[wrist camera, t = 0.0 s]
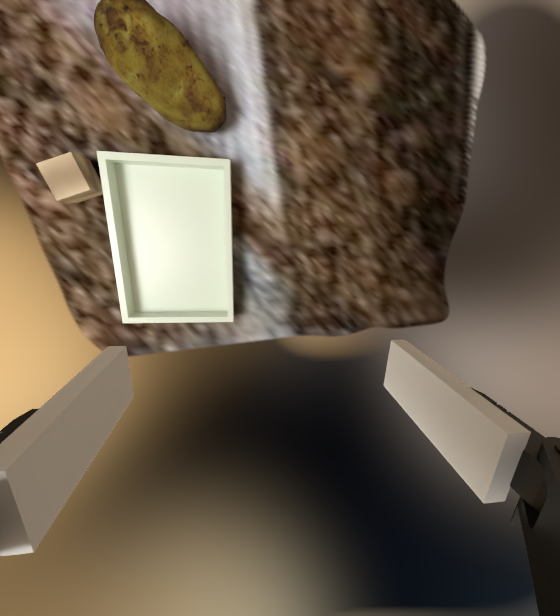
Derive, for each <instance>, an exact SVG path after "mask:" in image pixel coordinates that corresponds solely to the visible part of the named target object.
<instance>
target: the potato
mask: <svg viewBox="0 0 560 616" xmlns="http://www.w3.org/2000/svg"><path fill="white" fill-rule="evenodd" d="M94 26H95V31H96V34H97V37H98V40H99V43H100V47H101V49H102V50H103V52H104V54H105V56H106V58H107V60H108V62H109V64H110V65H111V67H112V68H113V69H114V71H115V72H116V73H117V74H118V76H119V77H120V78H121V79H122V80H123V81H124V82H125V83H126V84H127V85H128V86H129V87H130V88H131V89H132V90H133V91H134V92H135V93H136V94H137V95H138V96H139V97H140V98H142V99H143V100H144V101H145V102H147V103H148V104H149V105H150V106H151V107H153V108H154V109H155V110H156V111H157V112H158V113H159V114H160V115H162V116H163V117H164V118H166V119H167V120H169V121H170V122H172V123H174V124H175V125H177V126H179V127H181V128H183V129H186V130H190V131H199V132H214V131H217V130H218V129H219V128H220V127H221V126H222V125H223V124H224V123H225V120H226V103H225V97H223V95H222V93H221V91H220V89H219V88H218V86H217V84H216V83H215V81H214V80H213V78H212V77H211V75H210V74H209V72H208V71H207V69H206V68H205V66H204V65H203V63H202V62H201V60H200V59H199V57H198V56H197V55H196V53H195V52H194V50H193V49H192V47H191V46H190V45H189V43H188V40H186V39H185V38H184V36H183V35H182V33H181V32H180V31H179V30H178V29H177V28H176V27H175V26H174V25H173V24H172V23H171V22H170V21H169V20H167V19H166V18H164V17H163V16H161V15H160V14H159V13H157V12H156V10H155V9H154V8H153V7H152V6H151V5H150V4H149V3H148V2H147V1H146V0H101V1H100V2H99V3H98V5H97V7H96V9H95V13H94Z"/></svg>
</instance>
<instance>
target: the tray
mask: <svg viewBox="0 0 560 616" xmlns="http://www.w3.org/2000/svg"><path fill="white" fill-rule="evenodd" d="M97 157H98V164H99V170H100V177H101V183H102V190H103V196H104V203H105V210H106V216H107V223H108V229H109V236H110V242H111V249H112V256H113V262H114V269H115V275H116V282H117V288H118V295H119V302H120V308H121V315H122V321H123V323H178V322H233V320H234V282H233V232H232V182H231V162H230V159H217V158H201V157H185V156H169V155H153V154H138V153H122V152H106V151H97Z"/></svg>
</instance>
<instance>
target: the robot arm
mask: <svg viewBox="0 0 560 616" xmlns="http://www.w3.org/2000/svg"><path fill="white" fill-rule="evenodd" d="M384 386H385V388H386V389H387V390H388V391H389V392H390V393H391V395H392V396H393V397H394V398H395V399H396V401H397V402H398V403H399V404H400V405H401V407H402V408H403V409H404V410H405V411H406V412H407V414H408V415H409V416H410V417H411V418H412V419H413V421H414V422H415V423H416V424H417V425H418V427H419V428H420V429H421V430H422V431H423V432H424V434H425V435H426V436H427V437H428V438H429V440H430V441H431V442H432V443H433V444H434V445H435V447H436V448H437V449H438V450H439V451H440V452H441V454H442V455H443V456H444V457H445V458H446V460H447V461H448V462H449V463H450V464H451V465H452V467H453V468H454V469H455V470H456V471H457V472H458V474H459V475H460V476H461V477H462V478H463V480H465V482H466V483H467V484H468V485H469V487H470V488H471V489H472V490H473V491H474V492H475V494H476V495H477V496H478V497H479V498H480V499H481V501H482V502H483V503H491V502H501V501H505V499H506V497H507V494H508V491H509V489H510V486H511V487H512V488H513V489H514V490H515V491H516V492H517V493H518V494H519V495H520V498H519V500H518V503H517V505H516V508H515V510H514V513H513V516H512V518H511V524H513V525H516V522H517V520H519V519H520V521H521V526H522V531H523V536H524V541H525V546H526V551H527V556H528V561H529V566H530V571H531V576H532V581H533V587H534V592H535V597H536V602H537V607H538V612H539V616H560V438H556V437H547V438H545V437H544V436H542V435H541V434H539V433H538V432H536V431H535V430H534V429H533V428H531V427H530V426H528V425H527V424H525V423H524V422H523V421H521V420H520V419H519V418H517V417H516V416H514V415H513V414H511V413H510V412H507V410H506V409H505V408H503V407H502V406H500V405H497V403H496V402H495V401H493V400H492V399H490V398H489V397H488V396H486V395H485V394H483V393H481V392H479V391H477V390H475V389H473V388H471V387H468V386H467V385H466V384H465V383H463V382H462V381H460V380H459V379H458V378H456V377H455V376H454V375H452V374H451V373H449V372H448V371H447V370H445V369H444V368H443V367H441V366H440V365H439V364H437V363H436V362H435V361H433V360H432V359H430V358H429V357H427V356H426V355H425V354H424V353H422V352H421V351H419V350H418V349H417V348H415V347H414V346H412V345H411V344H410V343H409V342H407V341H406V340H391V345H390V351H389V357H388V363H387V369H386V375H385V381H384ZM133 397H134V395H133V388H132V382H131V376H130V369H129V362H128V356H127V349H126V346H108V347H107V348H106V349H105V350H104V351H103V352H102V353H101V354H100V355H98V356H97V357H96V358H95V359H94V360H93V361H92V362H91V363H89V364H88V365H87V366H86V367H85V368H84V369H83V370H82V371H81V372H79V373H78V374H77V375H76V376H75V377H74V378H73V379H72V380H71V381H69V382H68V383H67V384H66V385H65V386H64V387H63V388H62V389H61V390H59V391H58V392H57V393H56V394H55V395H54V396H53V397H52V398H51V399H50V400H48V401H47V402H46V403H45V404H44V405H43V406H42V407H41V408H39V409H32V410H30V411H28V412H26V413H25V414H23V415H21V416H19V417H18V418H16V419H14V420H13V421H12V422H10V423H9V424H8V425H7V426H6V427H4V428H3V429H2V430H1V431H0V555H1V556H5V555H15V554H24V553H33V552H34V551H35V550H36V548H37V547H38V545H39V543H40V542H41V540H42V539H43V537H44V536H45V534H46V533H47V531H48V529H49V528H50V526H51V525H52V523H53V522H54V520H55V518H56V517H57V515H58V514H59V512H60V511H61V509H62V508H63V506H64V505H65V503H66V501H67V500H68V498H69V496H70V495H71V494H72V492H73V491H74V489H75V487H76V486H77V484H78V483H79V481H80V480H81V478H82V477H83V475H84V473H85V472H86V470H87V469H88V467H89V466H90V464H91V463H92V461H93V459H94V458H95V456H96V455H97V453H98V452H99V450H100V448H101V447H102V445H103V444H104V442H105V441H106V439H107V438H108V436H109V434H110V433H111V431H112V429H113V428H114V427H115V425H116V424H117V422H118V421H119V418H120V417H121V416H122V414H123V413H124V411H125V409H126V408H127V406H128V405H129V403H130V402H131V400H132V399H133Z"/></svg>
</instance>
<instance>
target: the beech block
mask: <svg viewBox="0 0 560 616" xmlns="http://www.w3.org/2000/svg"><path fill="white" fill-rule="evenodd" d="M36 165H37V166H38V168H39V170H40V172H41V173H42V175H43V177H44V179H45V180H46V182H47V184H48V186H49V188H50V189H51V191H52V193H53V195H54V196H55V198H56V200H57V201H63V202H72V203H79V202H82V201H85V200H88V199H91V198H94V197H97V196H100V195H103V190H102V183H101V181H100V179H99V177H98V175H97V173H96V171H95V169H94V167H93V165H92V163H91V161H90V160H89V159H87V158H84V157H82V156H79V155H77V154H74V153H72V152H69V153H66V154H63V155H60V156H57V157H54V158H51V159H49V160H46V161H43V162H40V163H37V164H36Z"/></svg>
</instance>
